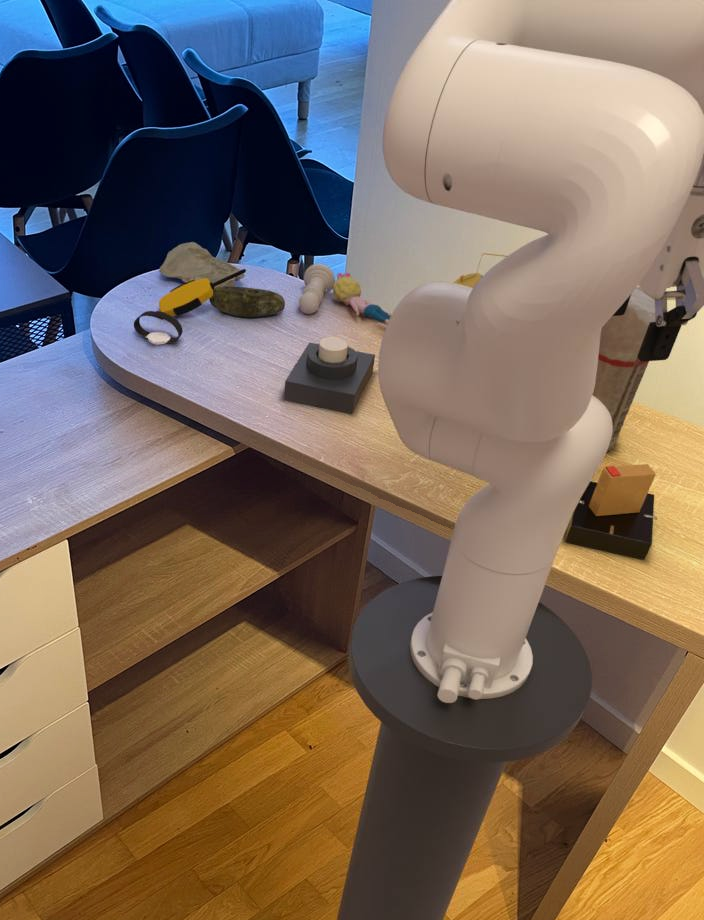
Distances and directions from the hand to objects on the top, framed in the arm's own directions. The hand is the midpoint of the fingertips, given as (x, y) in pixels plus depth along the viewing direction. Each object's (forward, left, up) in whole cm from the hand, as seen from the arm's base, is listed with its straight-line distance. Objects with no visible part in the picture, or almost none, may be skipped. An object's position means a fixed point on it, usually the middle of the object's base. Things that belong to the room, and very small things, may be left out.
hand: (629, 336), depth 95 cm
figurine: (+36, +30, -21) cm, 51 cm away
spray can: (+17, -1, -23) cm, 28 cm away
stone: (+47, +63, -20) cm, 81 cm away
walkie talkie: (+28, +67, -22) cm, 76 cm away
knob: (-2, -5, -20) cm, 21 cm away
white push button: (+17, +35, -18) cm, 43 cm away
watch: (+22, +63, -20) cm, 70 cm away
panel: (-2, -5, -22) cm, 23 cm away
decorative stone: (+32, +53, -18) cm, 65 cm away
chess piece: (+45, +45, -20) cm, 67 cm away
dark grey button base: (+17, +35, -22) cm, 45 cm away
